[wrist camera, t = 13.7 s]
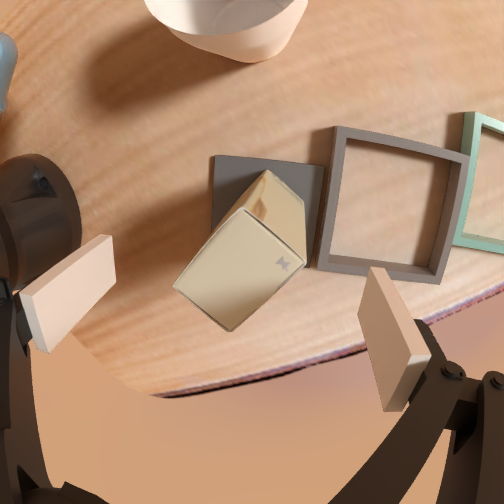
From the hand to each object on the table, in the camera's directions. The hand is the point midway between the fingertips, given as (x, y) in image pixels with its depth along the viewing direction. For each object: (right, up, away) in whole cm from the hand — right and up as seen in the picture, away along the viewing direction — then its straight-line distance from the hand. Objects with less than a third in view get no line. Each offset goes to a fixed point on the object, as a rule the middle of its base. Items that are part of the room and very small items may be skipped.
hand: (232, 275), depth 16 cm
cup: (+1, +20, +7) cm, 21 cm away
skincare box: (+2, +5, +12) cm, 13 cm away
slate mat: (+2, +5, +12) cm, 13 cm away
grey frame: (+13, +5, +10) cm, 18 cm away
